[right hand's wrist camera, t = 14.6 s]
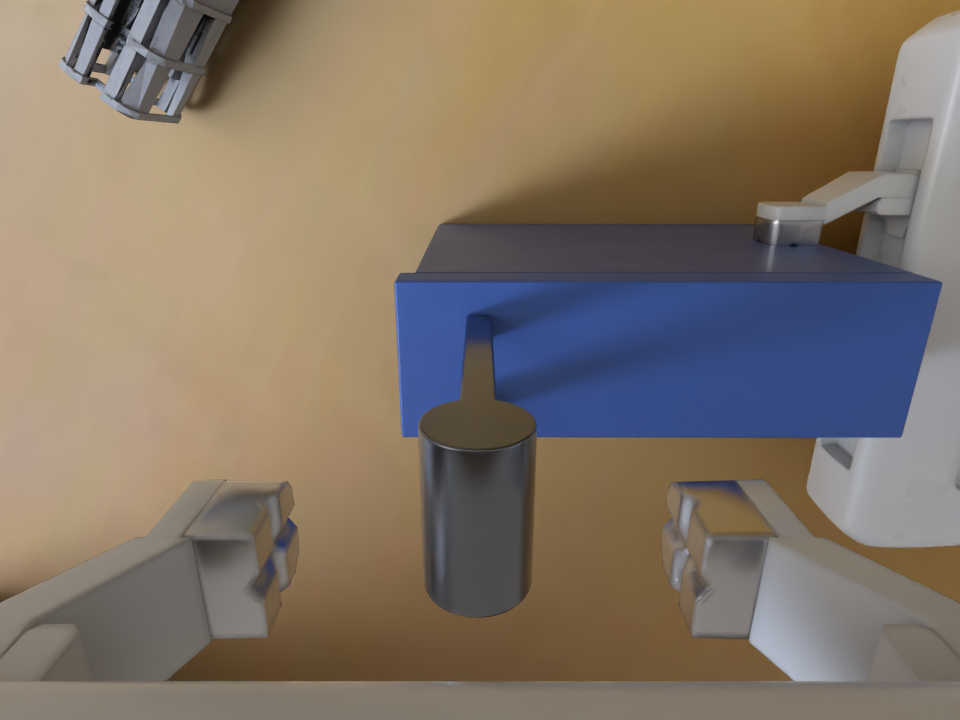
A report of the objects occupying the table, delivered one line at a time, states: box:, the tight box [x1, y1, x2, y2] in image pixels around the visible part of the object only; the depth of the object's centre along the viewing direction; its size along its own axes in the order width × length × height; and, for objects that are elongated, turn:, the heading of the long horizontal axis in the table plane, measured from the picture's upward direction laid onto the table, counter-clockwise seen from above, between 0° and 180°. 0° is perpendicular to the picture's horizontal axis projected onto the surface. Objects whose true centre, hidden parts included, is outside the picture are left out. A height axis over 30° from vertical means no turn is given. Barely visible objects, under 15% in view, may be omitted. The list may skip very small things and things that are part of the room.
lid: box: [394, 273, 943, 618], centre depth 14 cm, size 15×5×9 cm, turn 90°
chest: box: [416, 224, 912, 273], centre depth 23 cm, size 14×5×11 cm, turn 90°
